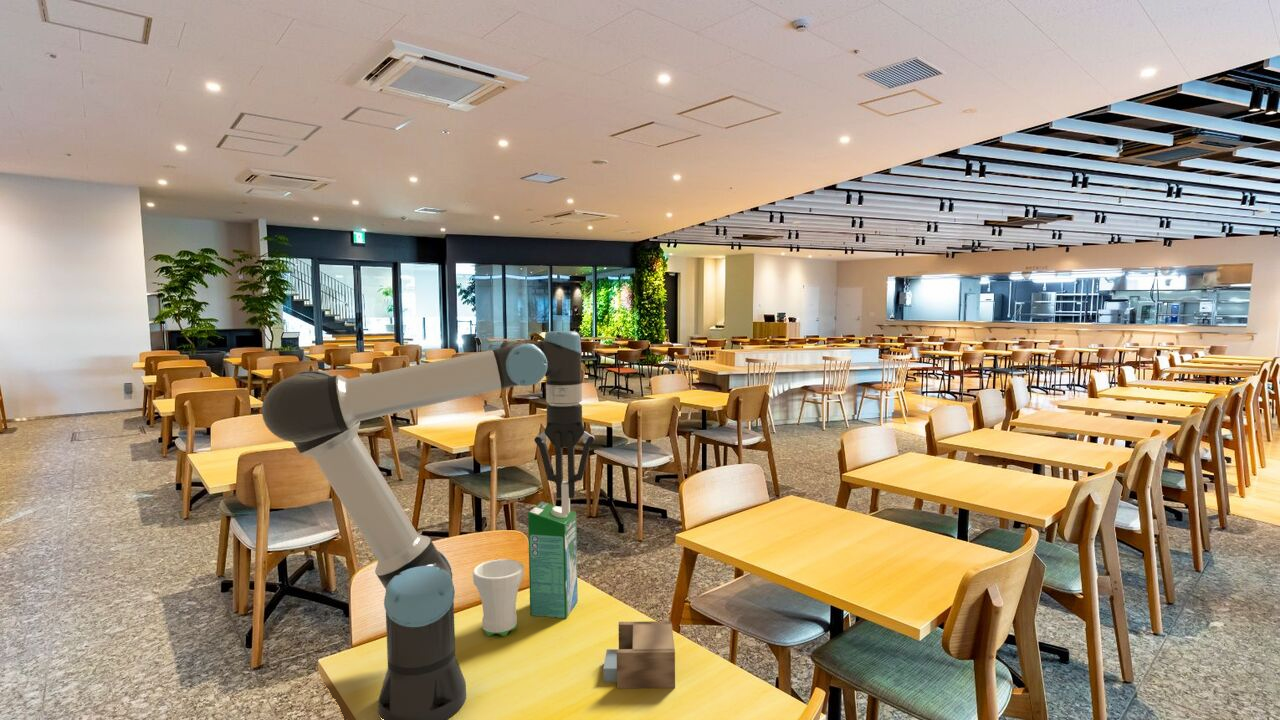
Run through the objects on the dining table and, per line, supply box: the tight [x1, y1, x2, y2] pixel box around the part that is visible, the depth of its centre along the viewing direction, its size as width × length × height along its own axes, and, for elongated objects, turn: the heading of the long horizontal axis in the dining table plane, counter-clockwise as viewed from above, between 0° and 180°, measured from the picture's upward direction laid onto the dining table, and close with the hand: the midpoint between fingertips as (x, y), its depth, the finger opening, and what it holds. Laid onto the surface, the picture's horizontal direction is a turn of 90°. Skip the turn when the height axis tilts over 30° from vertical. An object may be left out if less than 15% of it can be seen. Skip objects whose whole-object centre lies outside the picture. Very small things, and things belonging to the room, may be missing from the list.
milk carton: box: [527, 501, 578, 619], centre depth 150 cm, size 9×9×25 cm
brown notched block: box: [616, 620, 676, 689], centre depth 124 cm, size 11×12×7 cm
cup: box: [472, 558, 525, 637], centre depth 140 cm, size 11×11×14 cm
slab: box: [602, 648, 617, 683], centre depth 124 cm, size 11×7×3 cm, turn 88°
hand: (566, 512), depth 134 cm, fingers closed
